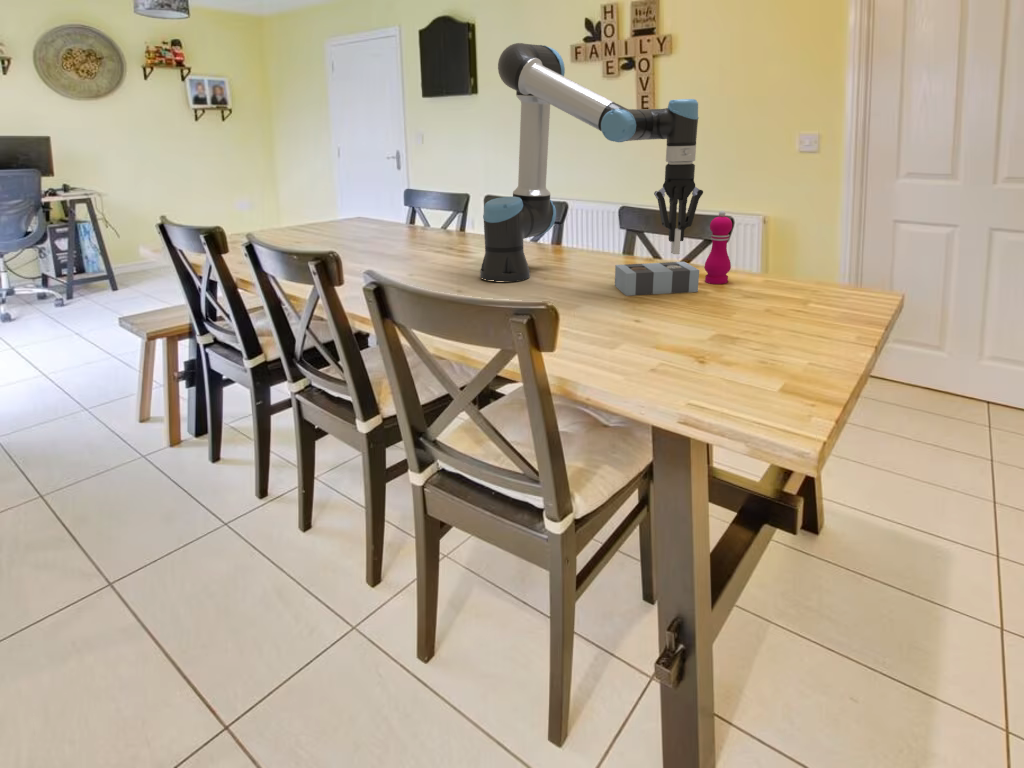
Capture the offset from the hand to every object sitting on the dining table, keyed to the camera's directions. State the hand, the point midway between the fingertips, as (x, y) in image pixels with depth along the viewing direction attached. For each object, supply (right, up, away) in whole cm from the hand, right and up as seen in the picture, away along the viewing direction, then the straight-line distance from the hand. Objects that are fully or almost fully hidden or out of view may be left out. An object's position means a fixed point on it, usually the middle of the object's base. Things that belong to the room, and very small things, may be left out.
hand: (675, 253), depth 184 cm
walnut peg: (-10, -10, +3) cm, 14 cm away
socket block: (-5, -9, +3) cm, 11 cm away
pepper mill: (+14, -7, +9) cm, 18 cm away
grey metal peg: (0, -9, +4) cm, 10 cm away
